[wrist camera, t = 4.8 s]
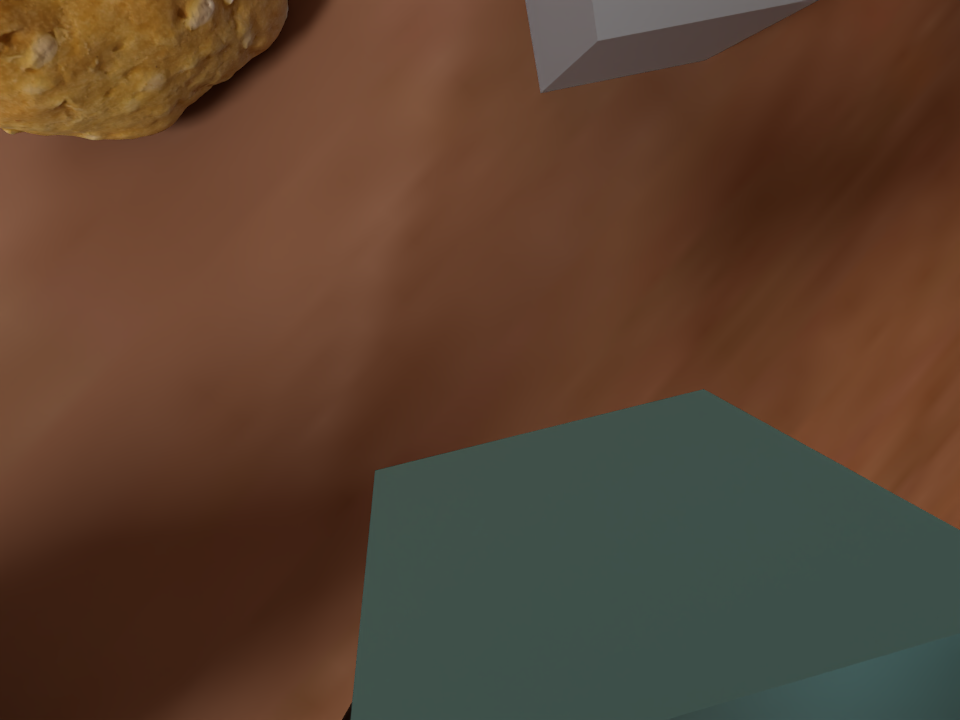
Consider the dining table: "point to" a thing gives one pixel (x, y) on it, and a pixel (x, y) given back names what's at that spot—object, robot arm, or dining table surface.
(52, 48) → the bagel
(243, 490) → the dining table surface
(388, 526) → the teal block
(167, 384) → the dining table surface
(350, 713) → the robot arm
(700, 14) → the grey cube
